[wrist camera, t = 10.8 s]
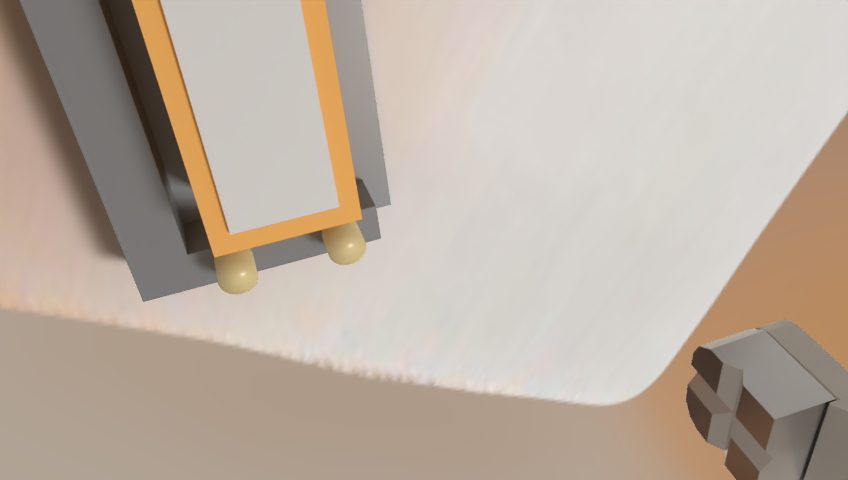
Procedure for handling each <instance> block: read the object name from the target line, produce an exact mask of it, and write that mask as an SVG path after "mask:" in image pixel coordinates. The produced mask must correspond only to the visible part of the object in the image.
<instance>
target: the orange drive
mask: <svg viewBox="0 0 848 480" xmlns="http://www.w3.org/2000/svg"><path fill="white" fill-rule="evenodd" d="M132 3H133V6H134V9H135V12H136V16H137V19H138V22H139V25H140V28H141V31H142V34H143V37H144V40H145V44H146V47H147V50H148V53H149V56H150V59H151V62H152V65H153V68H154V72H155V75H156V78H157V81H158V84H159V87H160V90H161V93H162V96H163V100H164V103H165V106H166V109H167V112H168V115H169V118H170V121H171V124H172V128H173V131H174V134H175V137H176V140H177V143H178V146H179V149H180V152H181V156H182V159H183V162H184V165H185V168H186V171H187V174H188V177H189V180H190V184H191V187H192V190H193V193H194V196H195V199H196V202H197V205H198V208H199V212H200V215H201V218H202V221H203V224H204V227H205V230H206V233H207V236H208V240H209V243H210V246H211V249H212V252H213V255H214V258H215V257H218V256H222V255H226V254H230V253H234V252H238V251H242V250H245V249H249V248H253V247H257V246H261V245H265V244H269V243H272V242H276V241H280V240H284V239H288V238H292V237H296V236H299V235H303V234H307V233H311V232H315V231H319V230H323V229H326V228H330V227H334V226H338V225H342V224H346V223H350V222H354V221H357V220H361V219H362V214H361V209H360V203H359V197H358V191H357V185H356V180H355V174H354V168H353V162H352V156H351V150H350V145H349V139H348V133H347V127H346V121H345V115H344V110H343V104H342V98H341V92H340V86H339V80H338V75H337V69H336V63H335V57H334V51H333V45H332V40H331V34H330V28H329V22H328V16H327V10H326V5H325V0H132Z"/></svg>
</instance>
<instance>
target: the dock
mask: <svg viewBox="0 0 848 480" xmlns="http://www.w3.org/2000/svg"><path fill="white" fill-rule="evenodd" d="M19 1H20V3H21V6H22V8H23V10H24V13H25V15H26V18H27V20H28V23H29V25H30V27H31V30H32V32H33V35H34V37H35V40H36V42H37V44H38V47H39V49H40V52H41V54H42V57H43V59H44V61H45V64H46V66H47V69H48V71H49V74H50V76H51V79H52V81H53V83H54V86H55V88H56V91H57V93H58V96H59V98H60V100H61V103H62V105H63V108H64V110H65V113H66V115H67V117H68V120H69V122H70V125H71V127H72V130H73V132H74V134H75V137H76V139H77V142H78V144H79V147H80V149H81V151H82V154H83V156H84V159H85V161H86V164H87V166H88V168H89V171H90V173H91V176H92V178H93V181H94V183H95V186H96V188H97V190H98V193H99V195H100V198H101V200H102V203H103V205H104V207H105V210H106V212H107V215H108V217H109V220H110V222H111V224H112V227H113V229H114V232H115V234H116V237H117V239H118V241H119V244H120V246H121V249H122V251H123V254H124V256H125V258H126V261H127V263H128V266H129V268H130V271H131V273H132V276H133V278H134V280H135V283H136V285H137V288H138V290H139V293H140V295H141V297H142V300H143V302H145V301H148V300H152V299H156V298H160V297H163V296H167V295H171V294H175V293H178V292H182V291H186V290H190V289H193V288H197V287H201V286H205V285H208V284H212V283H216V282H218V284H219V286H220V288H221V289H222V290H223V291H225V292H227V293H230V294H242V293H245V292H247V291H249V290H251V289H252V288H253V287H254V286H255V284H256V283H257V280H258V273H257V271H261V270H264V269H268V268H272V267H276V266H279V265H283V264H287V263H291V262H294V261H298V260H302V259H305V258H309V257H313V256H317V255H320V254H324V253H328V254H329V257H330V258H331V260H332V261H334V262H335V263H337V264H340V265H348V264H352V263H354V262H356V261H358V260H359V259H360V258H361V257H362V256H363V254H364V253H365V250H366V243H365V242H369V241H373V240H377V239H380V238H381V236H380V230H379V223H378V217H377V211H376V208H379V207H383V206H387V205H391V203H390V196H389V189H388V182H387V175H386V169H385V162H384V155H383V148H382V141H381V134H380V127H379V121H378V114H377V107H376V100H375V93H374V86H373V79H372V72H371V66H370V59H369V52H368V45H367V38H366V31H365V24H364V18H363V11H362V4H361V0H325V5H326V10H327V16H328V22H329V28H330V34H331V40H332V45H333V51H334V57H335V63H336V69H337V75H338V80H339V86H340V92H341V98H342V104H343V110H344V115H345V121H346V127H347V133H348V139H349V145H350V150H351V156H352V162H353V168H354V174H355V180H356V185H357V191H358V197H359V203H360V209H361V214H362V219H361V220H357V221H354V222H350V223H346V224H342V225H338V226H334V227H330V228H326V229H323V230H319V231H315V232H311V233H307V234H303V235H299V236H296V237H292V238H288V239H284V240H280V241H276V242H272V243H269V244H265V245H261V246H257V247H253V248H249V249H245V250H242V251H238V252H234V253H230V254H226V255H222V256H218V257H215V258H214V255H213V252H212V249H211V246H210V243H209V240H208V236H207V233H206V230H205V227H204V224H203V221H202V218H201V215H200V212H199V208H198V205H197V202H196V199H195V196H194V193H193V190H192V187H191V184H190V180H189V177H188V174H187V171H186V168H185V165H184V162H183V159H182V156H181V152H180V149H179V146H178V143H177V140H176V137H175V134H174V131H173V128H172V124H171V121H170V118H169V115H168V112H167V109H166V106H165V103H164V100H163V96H162V93H161V90H160V87H159V84H158V81H157V78H156V75H155V72H154V68H153V65H152V62H151V59H150V56H149V53H148V50H147V47H146V44H145V40H144V37H143V34H142V31H141V28H140V25H139V22H138V19H137V16H136V12H135V9H134V6H133V3H132V0H19Z"/></svg>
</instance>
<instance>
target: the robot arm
mask: <svg viewBox="0 0 848 480" xmlns="http://www.w3.org/2000/svg"><path fill="white" fill-rule="evenodd" d="M691 365H692V366H693V367H694V368H695V369H696V371H697V374H696V375H695V376H694V377H693V379H692V380H691V381H690V382H689V384H688V387H687V396H686V402H687V406H688V410H689V414H690V417H691V419H692V421H693V422H694V424H695V427H696V428H697V430H698V431H699V433H700V434H701V435H702V437H703V438H704V439H705V441H706V442H707V443H710V444H712V445H714V446H716V447H719V448H720V449H723V450H724V451H725V453H724V455H725V466H726V467H727V469H728V470H729V471H730V472H731V474H732V475H733V476H734V477H735V479H736V480H848V371H847V370H846V369H845V368H844V367H843V366H842V365H841V364H840V363H838V362H837V361H836V360H835V359H834V358H833V357H832V356H831V355H830V354H828V352H826V351H825V350H824V349H823V348H822V347H821V346H820V345H819V344H818V343H817V342H816V341H814V340H813V339H812V338H811V337H810V336H809V335H808V334H807V333H806V332H805V331H803V330H802V329H801V328H800V327H799V326H798V325H797V324H796V323H794V322H792V321H790V320H787V319H783V320H779V321H776V322H773V323H771V324H768V325H764V326H761V327H758V328H756V329H749V330H746V331H743V332H740V333H737V334H734V335H731V336H728V337H725V338H722V339H719V340H716V341H713V342H710V343H707V344H704V345H701V346H699V347H698V348H697V349H696V350H695V351H694V353H693V358H692V363H691Z"/></svg>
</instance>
